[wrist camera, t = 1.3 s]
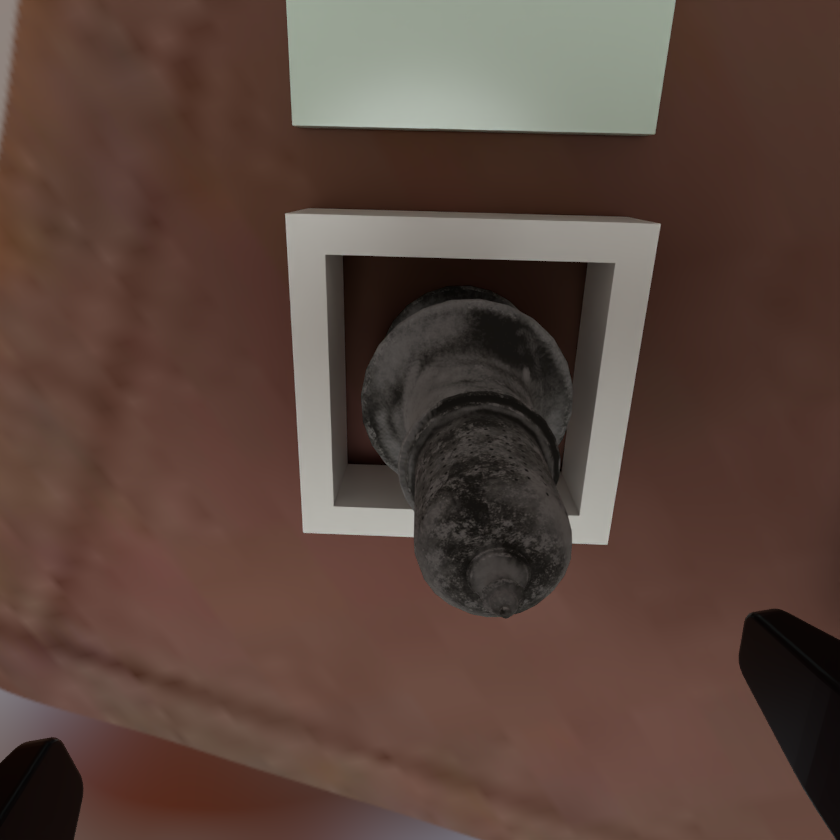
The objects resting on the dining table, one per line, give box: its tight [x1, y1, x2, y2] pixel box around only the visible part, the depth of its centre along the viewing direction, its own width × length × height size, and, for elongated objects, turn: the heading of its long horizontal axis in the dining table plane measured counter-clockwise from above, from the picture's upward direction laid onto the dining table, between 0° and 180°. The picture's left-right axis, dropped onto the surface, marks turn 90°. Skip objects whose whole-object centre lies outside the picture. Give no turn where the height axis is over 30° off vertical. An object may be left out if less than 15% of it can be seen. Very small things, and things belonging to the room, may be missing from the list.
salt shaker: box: [361, 286, 573, 618], centre depth 14 cm, size 6×6×12 cm
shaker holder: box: [285, 208, 661, 545], centre depth 19 cm, size 10×10×3 cm
